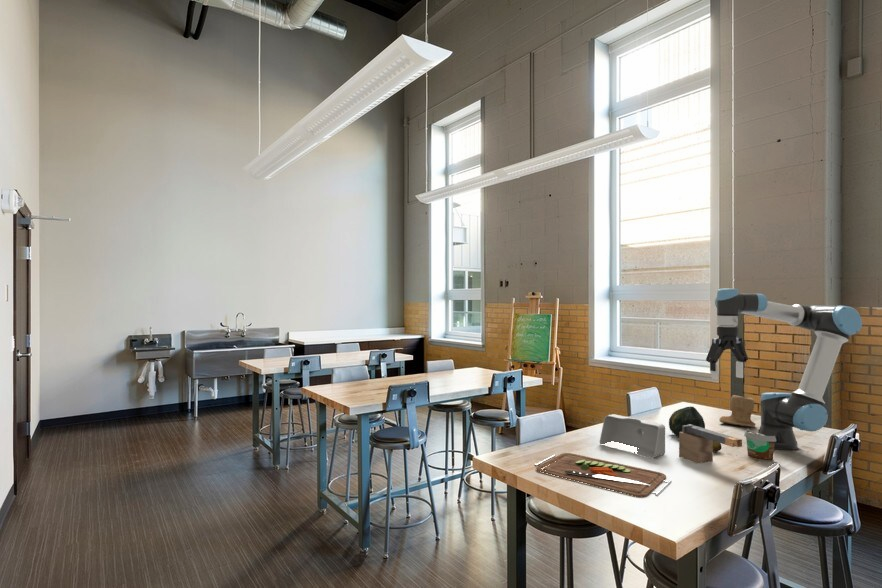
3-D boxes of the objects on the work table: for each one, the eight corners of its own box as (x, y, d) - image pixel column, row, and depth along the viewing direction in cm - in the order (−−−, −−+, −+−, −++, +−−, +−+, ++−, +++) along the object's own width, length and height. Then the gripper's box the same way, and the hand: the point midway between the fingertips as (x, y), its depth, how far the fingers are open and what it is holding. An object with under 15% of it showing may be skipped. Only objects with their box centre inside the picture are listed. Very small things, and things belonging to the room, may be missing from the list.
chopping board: (676, 479, 180) (676, 470, 180) (652, 502, 160) (652, 493, 160) (559, 454, 209) (559, 446, 209) (527, 470, 188) (527, 462, 188)
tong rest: (694, 454, 207) (694, 424, 207) (745, 473, 186) (745, 439, 186) (679, 456, 204) (679, 425, 205) (728, 475, 183) (728, 441, 183)
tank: (673, 451, 212) (673, 422, 212) (654, 459, 201) (654, 428, 201) (618, 438, 231) (618, 411, 231) (598, 445, 221) (599, 416, 221)
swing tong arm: (690, 431, 204) (690, 424, 204) (736, 446, 184) (736, 437, 184) (685, 432, 203) (685, 424, 203) (732, 446, 183) (732, 438, 183)
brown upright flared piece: (757, 425, 257) (757, 395, 257) (753, 429, 248) (753, 399, 248) (724, 420, 267) (724, 391, 267) (719, 424, 258) (719, 395, 258)
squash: (663, 418, 246) (671, 399, 236) (695, 420, 245) (705, 402, 235) (670, 444, 236) (679, 425, 226) (703, 446, 234) (714, 428, 224)
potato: (713, 455, 206) (713, 436, 206) (683, 447, 217) (683, 429, 217) (723, 452, 211) (723, 433, 211) (693, 444, 222) (693, 426, 222)
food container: (736, 454, 209) (737, 429, 209) (747, 452, 211) (747, 428, 211) (765, 463, 197) (765, 437, 197) (776, 461, 199) (776, 436, 199)
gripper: (712, 327, 198) (711, 381, 198) (758, 326, 206) (758, 378, 206) (696, 326, 205) (696, 378, 205) (741, 325, 213) (741, 375, 213)
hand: (727, 378), depth 205 cm, fingers open, 13 cm apart
